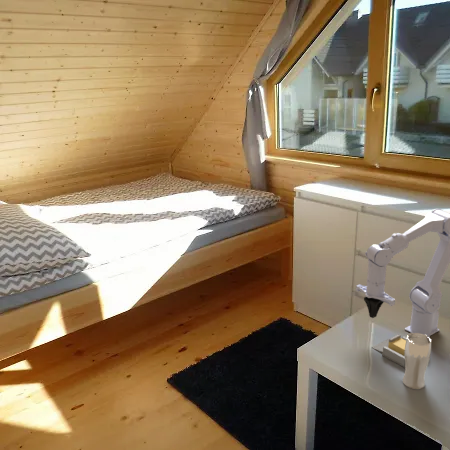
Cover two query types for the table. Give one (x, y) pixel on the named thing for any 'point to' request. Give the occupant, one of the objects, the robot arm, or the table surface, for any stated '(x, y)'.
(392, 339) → the toy bed
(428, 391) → the table surface
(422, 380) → the beer glass
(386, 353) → the dock
